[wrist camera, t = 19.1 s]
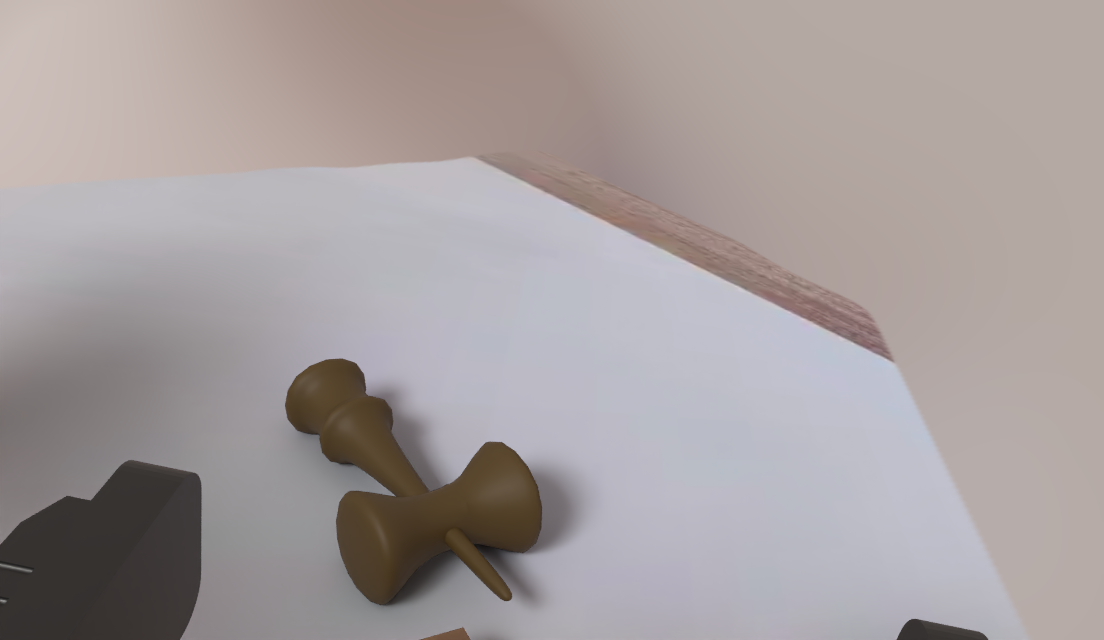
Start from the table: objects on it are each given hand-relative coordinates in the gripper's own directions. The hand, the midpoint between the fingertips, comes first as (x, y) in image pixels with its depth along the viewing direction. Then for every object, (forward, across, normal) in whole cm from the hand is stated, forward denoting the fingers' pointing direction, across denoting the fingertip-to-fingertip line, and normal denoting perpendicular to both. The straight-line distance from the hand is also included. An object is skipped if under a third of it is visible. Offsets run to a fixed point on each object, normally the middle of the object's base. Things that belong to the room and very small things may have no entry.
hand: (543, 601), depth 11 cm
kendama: (+33, -7, -28) cm, 44 cm away
